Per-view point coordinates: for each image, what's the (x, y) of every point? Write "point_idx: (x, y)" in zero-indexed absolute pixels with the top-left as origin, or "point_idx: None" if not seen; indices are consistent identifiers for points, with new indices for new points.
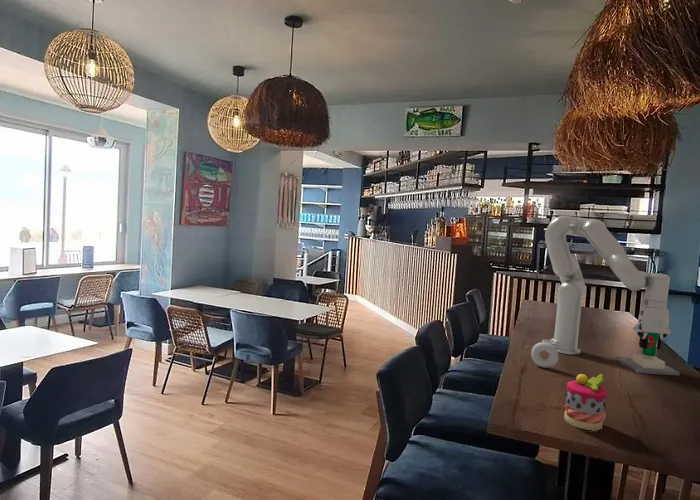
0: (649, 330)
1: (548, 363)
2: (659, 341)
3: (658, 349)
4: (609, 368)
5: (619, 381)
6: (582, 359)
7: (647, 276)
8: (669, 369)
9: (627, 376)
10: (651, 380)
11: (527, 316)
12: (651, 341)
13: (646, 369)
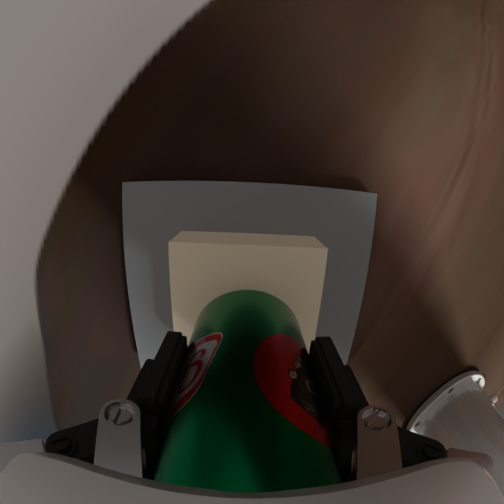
0: (418, 499)
1: None
2: (159, 390)
3: (181, 333)
4: (456, 244)
5: (485, 98)
6: (468, 335)
7: None
8: (150, 231)
9: (444, 141)
10: (364, 85)
11: None
12: (289, 378)
13: (319, 205)
